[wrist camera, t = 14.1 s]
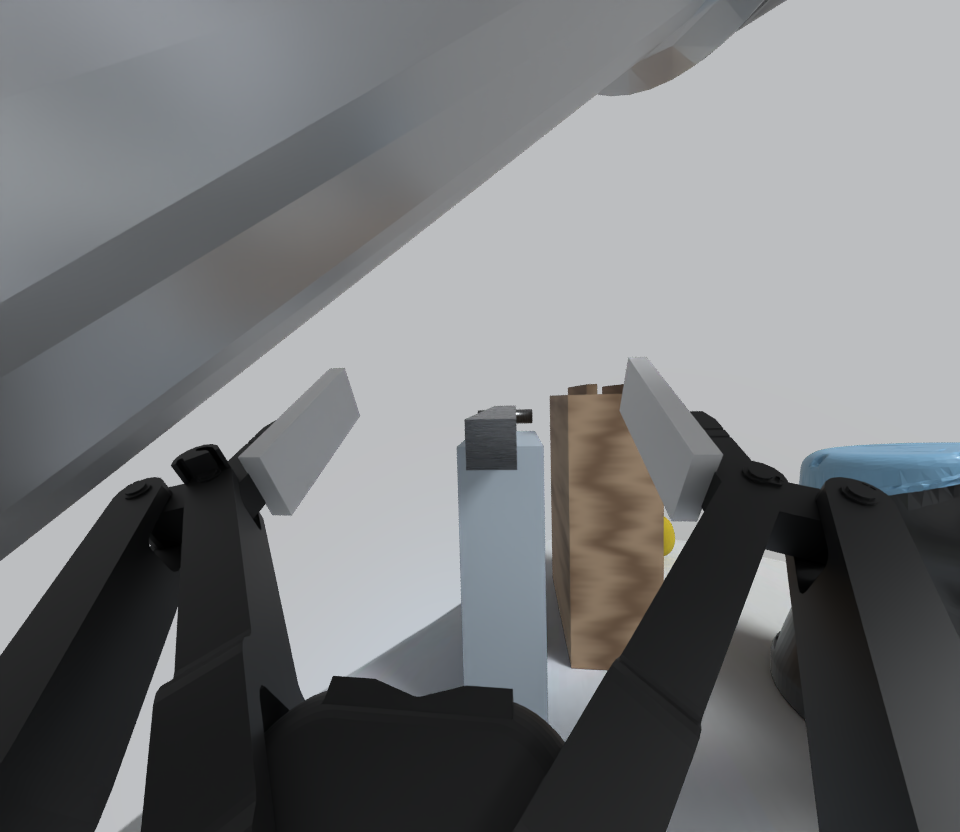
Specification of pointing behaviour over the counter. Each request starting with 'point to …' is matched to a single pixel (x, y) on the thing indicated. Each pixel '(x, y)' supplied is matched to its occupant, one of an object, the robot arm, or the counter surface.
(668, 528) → the lemon
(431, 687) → the counter surface
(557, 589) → the walnut stand
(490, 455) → the dark grey bar
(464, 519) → the block
